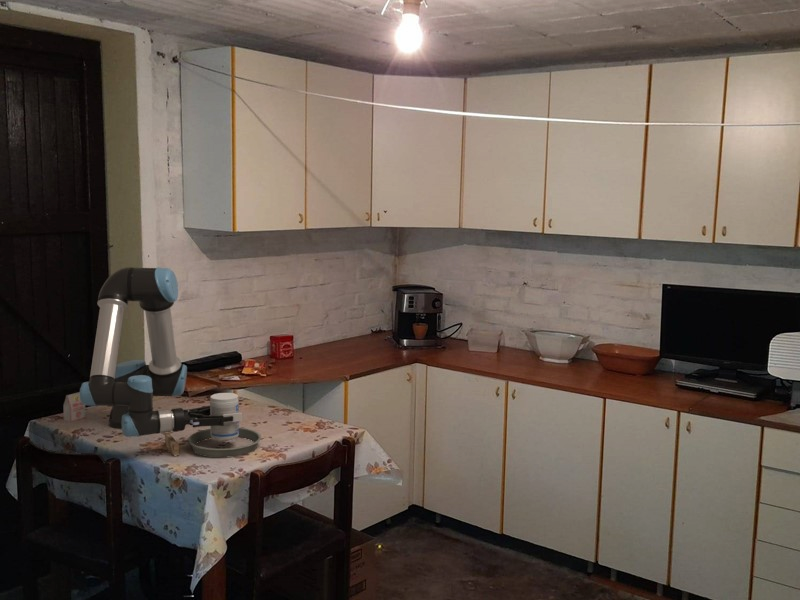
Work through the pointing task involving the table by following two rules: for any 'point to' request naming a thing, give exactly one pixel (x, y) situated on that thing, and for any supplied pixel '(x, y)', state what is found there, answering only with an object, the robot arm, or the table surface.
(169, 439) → the stop rail
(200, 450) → the cake pan
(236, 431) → the supplement tub
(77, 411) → the gable top carton
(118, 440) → the table surface
